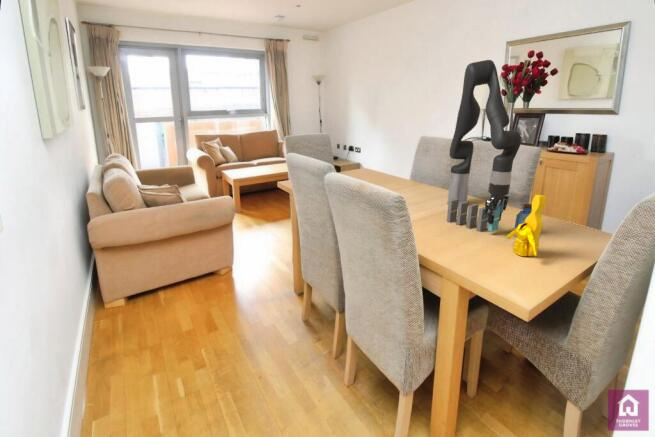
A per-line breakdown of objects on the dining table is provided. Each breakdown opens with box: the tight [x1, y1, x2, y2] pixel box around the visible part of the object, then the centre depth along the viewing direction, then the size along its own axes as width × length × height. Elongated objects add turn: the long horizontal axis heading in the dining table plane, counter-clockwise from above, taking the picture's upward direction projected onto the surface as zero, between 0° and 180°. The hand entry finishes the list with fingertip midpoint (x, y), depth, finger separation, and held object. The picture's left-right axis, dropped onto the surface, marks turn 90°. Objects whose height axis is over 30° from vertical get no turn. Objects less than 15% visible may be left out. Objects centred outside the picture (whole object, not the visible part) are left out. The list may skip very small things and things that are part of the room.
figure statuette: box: [505, 194, 547, 257], centre depth 128 cm, size 18×8×22 cm, turn 6°
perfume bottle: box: [513, 203, 532, 230], centre depth 151 cm, size 6×6×12 cm
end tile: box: [487, 206, 501, 232], centre depth 149 cm, size 5×2×10 cm, turn 126°
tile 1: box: [446, 199, 459, 223], centre depth 165 cm, size 5×2×10 cm, turn 126°
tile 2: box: [455, 201, 469, 226], centre depth 161 cm, size 5×2×10 cm, turn 126°
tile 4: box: [476, 206, 489, 233], centre depth 153 cm, size 5×2×10 cm, turn 126°
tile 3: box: [465, 203, 480, 230], centre depth 157 cm, size 5×2×10 cm, turn 126°
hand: (493, 221), depth 149 cm, fingers closed on end tile, 5 cm apart
